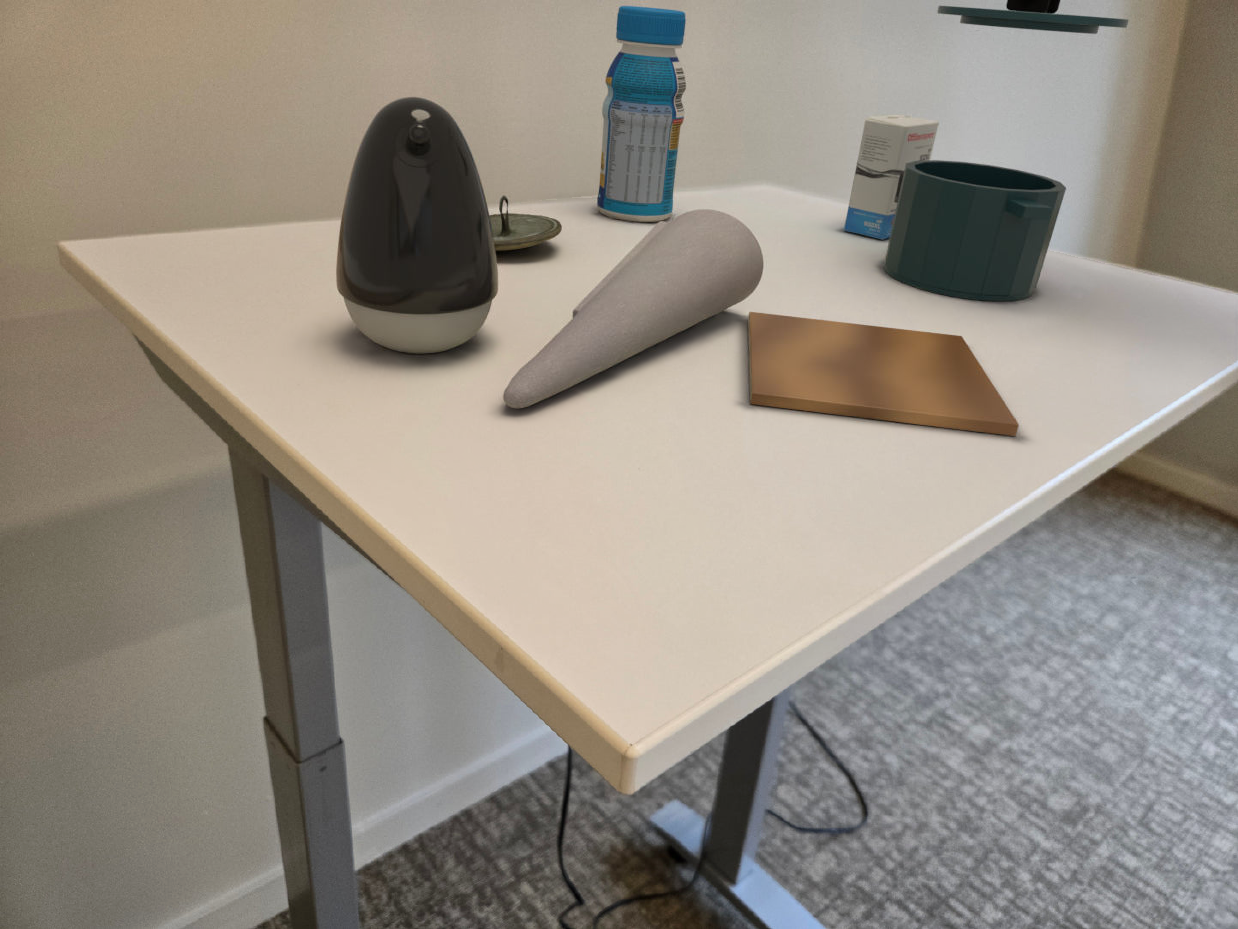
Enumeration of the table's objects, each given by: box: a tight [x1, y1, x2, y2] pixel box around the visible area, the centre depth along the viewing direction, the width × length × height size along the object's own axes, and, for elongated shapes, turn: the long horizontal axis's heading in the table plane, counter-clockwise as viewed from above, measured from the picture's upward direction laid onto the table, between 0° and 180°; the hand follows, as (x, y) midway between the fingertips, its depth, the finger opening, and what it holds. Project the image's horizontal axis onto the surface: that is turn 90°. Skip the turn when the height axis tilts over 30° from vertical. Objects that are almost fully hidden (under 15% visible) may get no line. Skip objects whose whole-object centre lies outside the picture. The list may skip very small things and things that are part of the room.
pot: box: [883, 159, 1067, 302], centre depth 85 cm, size 14×19×10 cm
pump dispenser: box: [335, 96, 499, 355], centre depth 58 cm, size 10×10×15 cm
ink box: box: [843, 114, 940, 240], centre depth 100 cm, size 8×5×12 cm, turn 139°
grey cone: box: [502, 208, 764, 409], centre depth 61 cm, size 8×9×26 cm
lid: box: [489, 195, 563, 252], centre depth 83 cm, size 11×10×5 cm
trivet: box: [747, 311, 1020, 437], centre depth 63 cm, size 16×16×1 cm
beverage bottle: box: [596, 5, 687, 223], centre depth 95 cm, size 8×8×20 cm
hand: (1031, 9), depth 76 cm, fingers closed on pot lid, 2 cm apart
